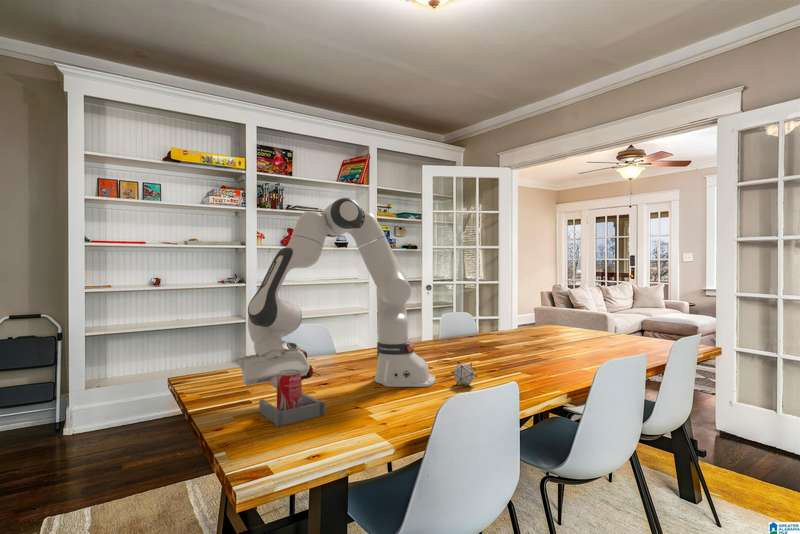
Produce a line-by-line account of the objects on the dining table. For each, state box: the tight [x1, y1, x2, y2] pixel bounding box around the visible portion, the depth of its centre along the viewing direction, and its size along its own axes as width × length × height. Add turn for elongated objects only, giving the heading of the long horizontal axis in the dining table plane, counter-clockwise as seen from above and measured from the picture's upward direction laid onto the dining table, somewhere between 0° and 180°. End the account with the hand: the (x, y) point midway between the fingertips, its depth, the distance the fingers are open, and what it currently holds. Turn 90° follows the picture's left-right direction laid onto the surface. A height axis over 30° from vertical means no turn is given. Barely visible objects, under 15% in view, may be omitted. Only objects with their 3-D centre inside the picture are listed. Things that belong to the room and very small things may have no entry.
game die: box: [450, 361, 478, 388], centre depth 153 cm, size 9×8×10 cm
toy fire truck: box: [299, 348, 314, 377], centre depth 168 cm, size 7×12×10 cm, turn 31°
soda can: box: [276, 369, 303, 411], centre depth 126 cm, size 7×7×12 cm
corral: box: [258, 391, 326, 428], centre depth 126 cm, size 14×15×4 cm
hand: (283, 391), depth 129 cm, fingers closed
